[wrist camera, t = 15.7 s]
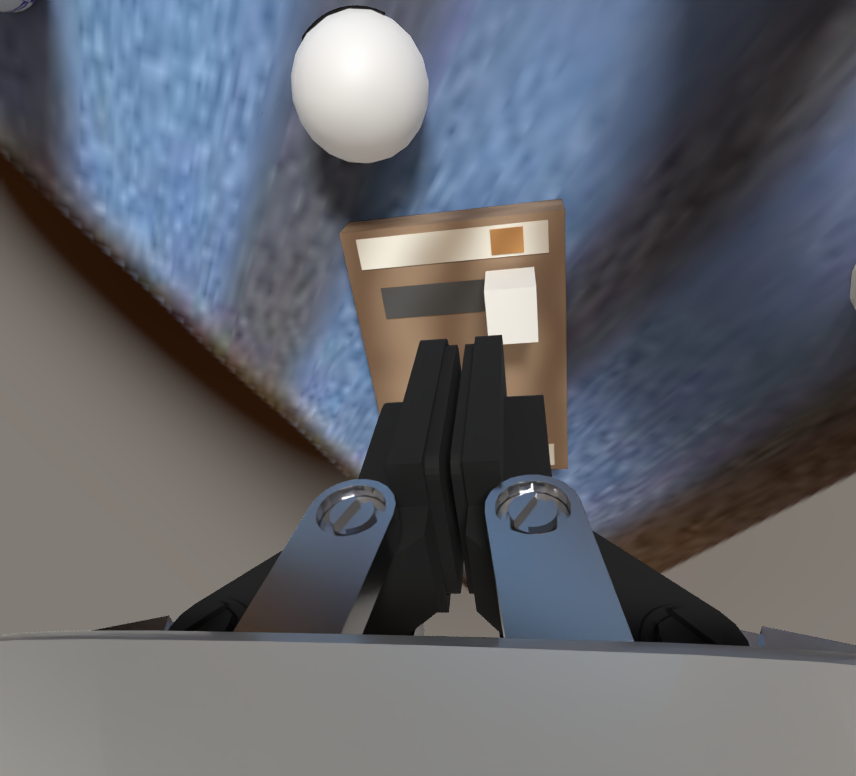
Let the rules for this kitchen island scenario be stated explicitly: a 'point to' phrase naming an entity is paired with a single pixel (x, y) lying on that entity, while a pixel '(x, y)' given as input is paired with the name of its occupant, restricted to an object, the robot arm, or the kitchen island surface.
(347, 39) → the seamed sphere
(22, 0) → the energy drink
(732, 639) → the robot arm
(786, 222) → the kitchen island surface
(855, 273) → the french press
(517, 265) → the switch board
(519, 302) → the tab
